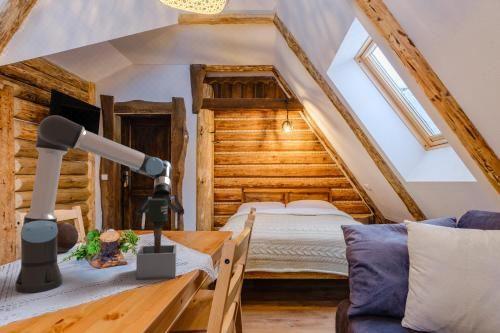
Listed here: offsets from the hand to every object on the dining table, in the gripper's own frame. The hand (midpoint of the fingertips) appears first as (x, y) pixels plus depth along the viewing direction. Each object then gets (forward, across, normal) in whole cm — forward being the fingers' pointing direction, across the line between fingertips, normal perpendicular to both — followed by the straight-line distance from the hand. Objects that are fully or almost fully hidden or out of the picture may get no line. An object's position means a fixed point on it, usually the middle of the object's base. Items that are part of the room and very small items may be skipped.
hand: (159, 227), depth 151 cm
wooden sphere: (-17, +52, -45) cm, 71 cm away
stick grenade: (+14, +1, -12) cm, 18 cm away
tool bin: (+14, +1, -13) cm, 19 cm away
